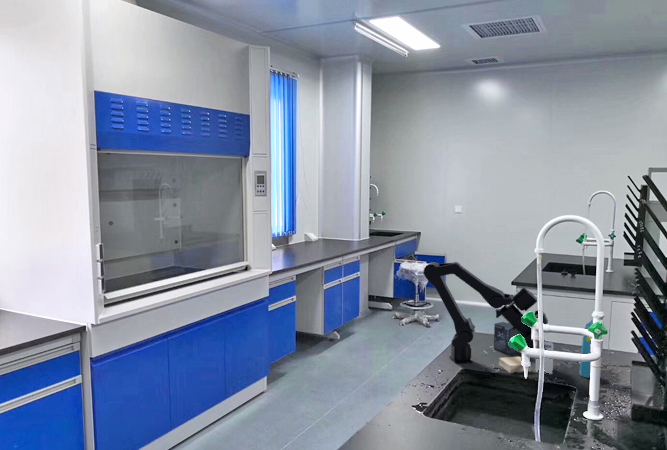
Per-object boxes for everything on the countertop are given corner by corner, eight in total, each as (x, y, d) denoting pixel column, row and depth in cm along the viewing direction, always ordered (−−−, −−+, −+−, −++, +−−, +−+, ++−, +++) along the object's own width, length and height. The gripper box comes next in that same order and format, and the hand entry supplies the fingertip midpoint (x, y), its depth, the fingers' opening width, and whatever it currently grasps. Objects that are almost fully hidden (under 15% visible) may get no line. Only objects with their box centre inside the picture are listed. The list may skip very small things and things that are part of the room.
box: (493, 349, 203) (494, 323, 202) (503, 346, 205) (504, 321, 204) (508, 354, 196) (509, 328, 195) (519, 352, 198) (519, 326, 198)
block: (509, 374, 177) (510, 365, 177) (499, 365, 185) (499, 357, 185) (530, 372, 179) (531, 364, 178) (519, 364, 187) (519, 356, 186)
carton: (535, 372, 178) (536, 344, 177) (536, 366, 183) (536, 339, 182) (552, 374, 176) (553, 346, 175) (552, 368, 181) (553, 341, 180)
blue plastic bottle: (593, 380, 170) (594, 324, 168) (577, 377, 173) (579, 322, 171) (596, 373, 176) (598, 319, 174) (581, 370, 179) (583, 317, 177)
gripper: (532, 311, 171) (567, 347, 167) (535, 299, 187) (566, 331, 184) (507, 331, 174) (540, 366, 171) (512, 317, 191) (543, 350, 188)
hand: (548, 352), depth 178 cm, fingers closed on carton, 5 cm apart
